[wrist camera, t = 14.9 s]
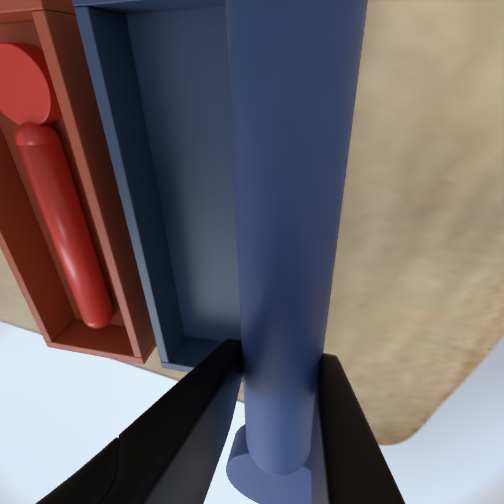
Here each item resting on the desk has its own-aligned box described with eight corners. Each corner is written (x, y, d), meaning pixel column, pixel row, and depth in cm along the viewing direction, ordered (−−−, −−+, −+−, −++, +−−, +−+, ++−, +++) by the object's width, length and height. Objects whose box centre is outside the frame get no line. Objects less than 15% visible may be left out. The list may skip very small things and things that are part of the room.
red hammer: (132, 318, 23) (116, 338, 22) (89, 312, 24) (70, 330, 23) (54, 41, 15) (18, 38, 13) (-8, 45, 16) (-49, 43, 14)
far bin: (164, 334, 24) (144, 364, 22) (75, 320, 26) (47, 347, 23) (89, 1, 14) (37, -11, 12) (-46, 14, 16) (-116, 5, 14)
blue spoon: (191, -127, 5) (114, -223, 3) (449, -167, 4) (520, -319, 3) (236, 464, 13) (221, 522, 12) (326, 487, 13) (323, 552, 11)
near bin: (284, 353, 22) (277, 389, 20) (180, 336, 24) (162, 368, 21) (294, -18, 12) (282, -38, 10) (115, -1, 14) (67, -15, 12)
